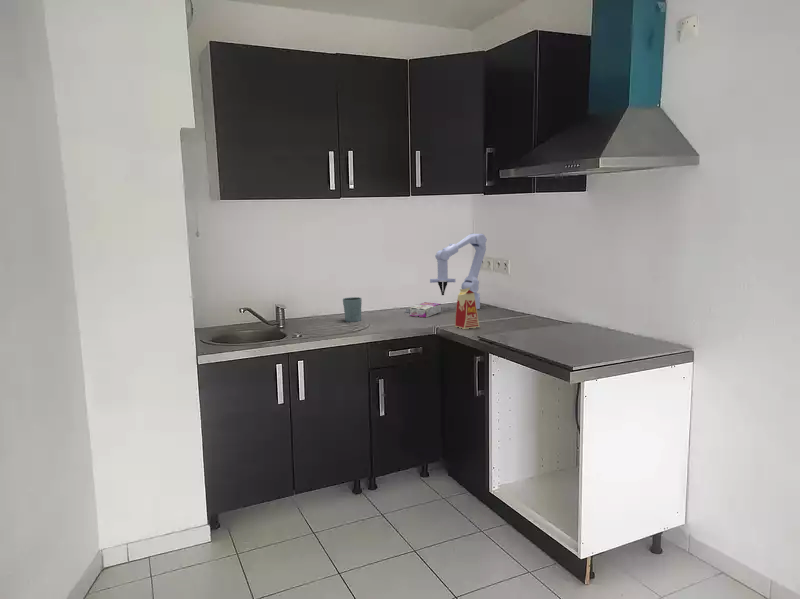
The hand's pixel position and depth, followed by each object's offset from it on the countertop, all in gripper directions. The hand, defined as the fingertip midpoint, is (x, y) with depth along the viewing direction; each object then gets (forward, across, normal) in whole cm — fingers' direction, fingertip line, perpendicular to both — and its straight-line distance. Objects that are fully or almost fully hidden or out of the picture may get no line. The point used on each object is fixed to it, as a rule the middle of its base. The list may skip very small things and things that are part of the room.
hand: (442, 295), depth 336 cm
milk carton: (+10, +12, -48) cm, 50 cm away
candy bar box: (+6, -5, -4) cm, 9 cm away
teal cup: (+10, -48, -27) cm, 56 cm away
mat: (+10, -14, 0) cm, 17 cm away
